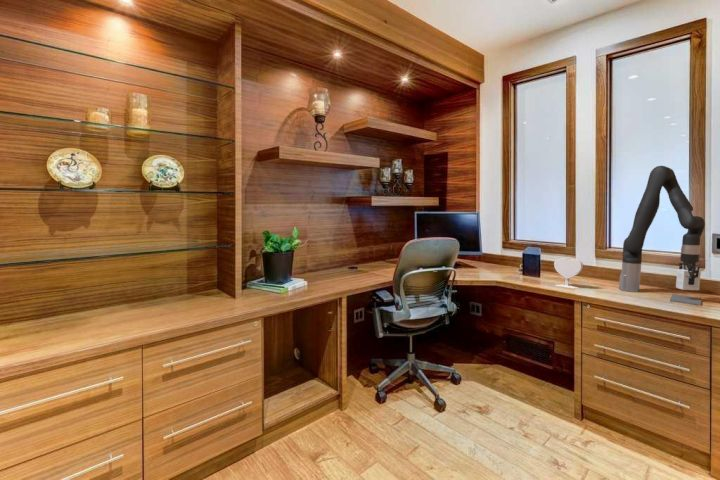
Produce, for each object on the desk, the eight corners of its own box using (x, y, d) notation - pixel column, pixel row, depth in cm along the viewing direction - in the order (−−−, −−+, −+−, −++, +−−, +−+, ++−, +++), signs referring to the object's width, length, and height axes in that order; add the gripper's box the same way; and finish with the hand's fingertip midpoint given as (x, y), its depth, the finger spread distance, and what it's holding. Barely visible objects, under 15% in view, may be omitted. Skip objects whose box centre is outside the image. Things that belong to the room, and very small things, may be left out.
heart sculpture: (581, 288, 223) (583, 259, 221) (579, 289, 219) (581, 260, 217) (555, 283, 234) (556, 256, 232) (552, 285, 231) (554, 257, 229)
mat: (700, 305, 184) (700, 304, 184) (669, 301, 192) (670, 299, 192) (700, 299, 197) (701, 297, 197) (672, 295, 205) (672, 294, 205)
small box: (692, 288, 196) (693, 269, 195) (699, 290, 190) (701, 271, 190) (675, 287, 197) (676, 269, 196) (682, 289, 192) (684, 270, 191)
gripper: (707, 254, 184) (704, 286, 186) (690, 251, 198) (688, 281, 200) (689, 254, 186) (687, 285, 188) (674, 251, 200) (672, 280, 202)
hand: (687, 283), depth 194 cm, fingers closed on small box, 6 cm apart
